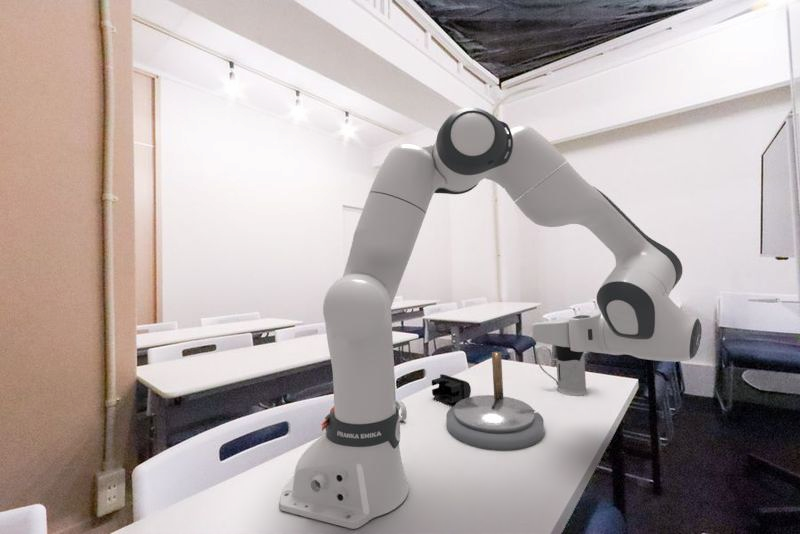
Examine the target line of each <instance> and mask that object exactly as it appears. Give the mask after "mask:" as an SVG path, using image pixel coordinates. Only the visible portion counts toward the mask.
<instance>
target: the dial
mask: <svg viewBox="0 0 800 534" xmlns="http://www.w3.org/2000/svg"><path fill="white" fill-rule="evenodd" d="M491 360H492V361H491V363H492V379H493V381H492V382H493V395H492V394H491V395H490V394H488V395H487V394H486V395H485V394H484V395H483V394H482V395H474V396H470V397H469V398H465V399H463V400H461V401H459V402H457V403H456V404H455V406H454V416H455V418H456V420H457V421H458V422H460V423H461V424H463V425H465V426H467V427H469V428H472V429H475V430H479V431H484V432H493V433H508V432H515V431H520V430H523V429H526V428H528V427H529V426H531V425H532V424H533V422H534V410H535V409H534V408H532V406H531V405H530V404H528V403H526V402H525V401H522V400H520V399H517V398H513V397H509V396H505V395H504V385H503V383H504V382H503V367H502V366H503V365H502V352H501V351H492V352H491ZM533 409H534V410H533Z"/></svg>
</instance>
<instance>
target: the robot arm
mask: <svg viewBox="0 0 800 534" xmlns="http://www.w3.org/2000/svg"><path fill="white" fill-rule="evenodd" d="M484 179H486V180H490V181H492V182H494V183H495V184H498V185H499V186H500V187H501V188H502V189H504V190H505V192H506V193H507V195H509V197H510V198H511V200H512V201H513V202H514V203H515V205H516V206H517V207H518V208H519V209H520V211H521V213H523V215H525V217H526V218H528V219H529V220H530V221H531V222H532V223H534V224H536V225H538V226H541V227H547V228H557V227H558V228H559V227H563V226H567V225H580V226H583V227H585V228H586V229H588V230H589V231H590V232H591V233H592V234H593V235H594V236H596V238H597V239H599V241H600V242H602V243H603V245H604V246H605V247H606V248H607V249H608V250H609V251H610V252H611V253H612V254H613V255H614V258H615V267H614V268H613V269H612V271H611V272H610V274H609V275H608V276H607V277H606V278H605V280H604V281H603V282H602V284H601V285H600V287H599V288H598V291H597V293H596V303H597V307H598V309H597V308H589V309H587V310H586V311H584V312H583V313H581V314H579V315H576V316H572V317H566V318H560V319H559V318H558V319H553V320H547V321H545V320H544V321H537V322H533V323H532V325H531V332H532V335H531V336H532V339H533V340H534V341H535V342H538V343H542V344H548V345H551V346H555V347H556V346H561V347H570V349H571V351H575V352H584V353H588V352H591V353H597V354H605V355H613V356H622V355H627V356H628V355H629V356H632V357H634V358H637V359H640V360H641V359H642V360H650V361H656V362H657V361H659V362H671V363H673V362H674V363H675V362H677V363H678V362H687V361H690V360H692V359H693V358H695V356H696V355H697V352H698V350H699V348H700V346H701V345H700V344H701V339H702V323H701V321H700V319H699V318H698V317H696V316H693V315H690V314H688V313H687V312H686V311H684V310H682V309H681V308H680V307H679V306H677V304H675V302H674V301H673V300H672V299H671V298H670V294H671V292H672V291H673V289H674V288H675V287H676V285H677V284H678V283H679V281H680V280H681V278H682V275H683V265H682V262H681V259H680V258H679V257H678V256H677V254H675V252H673V251H672V250H671V249H669V248H668V247H666V246H664V245H663V244H661V243H659V242H657V241H656V240H654V239H652V238H651V237H649V236H648V235H647V234H646V233H645V232H644V231H642V230H641V229H640V227H638V226H637V225H636V223H634V222H633V221H632V219H631V218H629V217H628V216H627V215H626V214H625V213H624V212H623V210H621V208H619V206H617V204H616V203H614V202H613V201H612V200H611V199H610V198H609V197H608V196H607V195H606V194H604V192H602V191H600V190H599V189H598V188H597V187H595V186H593V185H591V184H590V183H588V181H586V180H585V179H584V178H583V177H582V175H580V173H578V172H577V171H576V169H575V168H574V167H573V166H572V165H571V164H570V163H569V162H568V160H567V159H566V158H565V156H563V154H562V153H561V152H560V151H559V150H558V149H557V148H556V147H555V146H554V145H553V144H552V143H551V142H550V141H549V140H548V139H546V137H544V136H543V135H542V134H541V133H539V132H538V131H537V130H535V129H534V128H532V127H531V126H528V125H518V126H514V127H512V128H510V127H509V125H508V124H507V123H506V122H504V121H502V120H499V119H498V118H497V117H496V116H494V115H493V114H491V113H490V112H488V111H487V110H484V109H481V108H477V107H473V106H472V107H463V108H460V109H458V110H456V111H455V112H453V113H452V114H450V115H449V116H448V117H447V118H446V120H444V122H443V123H442V124H441V126H440V128H439V130H438V133H437V136H436V140H435V143H434V144H432V145H429V146H422V147H421V146H419V145H417V144H412V143H402V144H398V145H396V146H394V147H393V148H392V149H390V151H389V152H388V154H387V156H386V157H385V159H384V160H383V162H382V165H380V168H379V170H378V172H377V174H376V176H375V177H374V181H373V182H372V184H371V188H370V190H369V192H368V195H367V198H366V200H365V203H364V206H363V207H362V208H363V209H362V211H361V214H360V217H359V220H358V221H357V225H356V228H355V230H354V233H353V238H352V242H351V247H350V250H349V254H348V258H347V261H346V263H345V264H346V265H345V268H344V271H343V275H342V277H340V278H339V279H337V280H336V281H334V282H333V284H332V285H331V286H330V287H329V288H328V290H327V292H326V294H325V297H324V300H323V307H322V315H323V318H324V323H325V324H324V325H325V332H326V340H327V346H328V351H329V358H330V364H331V369H332V385H333V403H334V404H333V407H331V409H330V410H329V411H330V412H329V413H328V414H327V415H326V416H325V418H324V421H322V423H321V426H322V427H321V431H324V430H325V432H324V433H323V435H321V436H320V437H319V438H317V440H315V441H314V442H313V443H311V445H310V446H308V447H307V448H306V450H305V451H304V452H303V453H302V454H301V456H300V458H299V459H298V461H297V463H296V466H295V469H294V472H293V473H294V474H293V476H292V477H291V478H290V480H289V481H288V482H287V483H286V485H285V487H284V488H283V490H282V491H281V495H280V498H279V509H280V511H283V512H286V513H289V514H294V515H297V516H298V515H299V516H301V517H305V518H309V519H313V520H316V521H321V522H325V523H327V524H328V523H329V524H333V525H335V526H336V525H337V526H339V527H344V528H347V529H352V530H354V529H358V528H360V527H362V526H363V525H365V524H367V523H368V522H369V521H370V520H372V519H374V518H377V517H379V516H382V515H385V514H387V513H390V512H392V511H393V510H395V509H397V508H398V507H400V505H402V503H404V501H405V500H406V499H407V497H408V495H409V492H410V485H409V481H408V479H407V475H406V473H405V468H404V466H403V465H404V464H403V460H402V455H401V450H400V449H401V448H400V441H401V421H400V418H399V415H400V411H399V412H398V408H397V407H396V401H397V400H396V381H395V380H396V379H395V378H396V377H395V375H396V374H395V360H394V358H395V357H394V344H393V343H394V341H393V340H394V339H393V320H392V317H393V316H392V305H393V302H394V301H395V297H396V295H397V292H398V290H399V287H400V284H401V281H402V279H403V276H404V274H405V271H406V268H407V266H408V263H409V261H410V258H411V256H412V253H413V250H414V248H415V245H416V242H417V239H418V237H419V234H420V231H421V229H422V226H423V223H424V219H425V216H426V214H427V211H428V209H429V206H430V203H431V201H432V198H433V195H434V194H445V195H446V194H448V195H462V194H465V193H468V192H471V190H473V189H475V188H476V187H477V186H478V185H479V183H480V182H481V181H482V180H484Z"/></svg>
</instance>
